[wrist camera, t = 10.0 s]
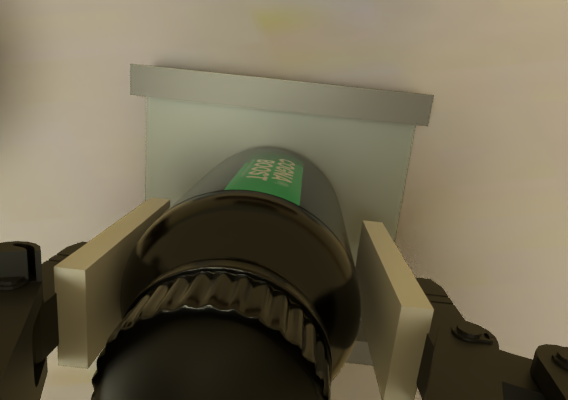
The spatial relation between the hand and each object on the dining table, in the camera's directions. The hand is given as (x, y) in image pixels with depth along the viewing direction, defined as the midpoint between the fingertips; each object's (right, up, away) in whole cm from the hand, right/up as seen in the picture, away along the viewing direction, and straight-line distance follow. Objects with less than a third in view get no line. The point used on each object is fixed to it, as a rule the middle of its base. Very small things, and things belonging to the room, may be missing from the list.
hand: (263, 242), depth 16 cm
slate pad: (0, +1, +4) cm, 4 cm away
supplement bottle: (0, +1, +4) cm, 4 cm away
